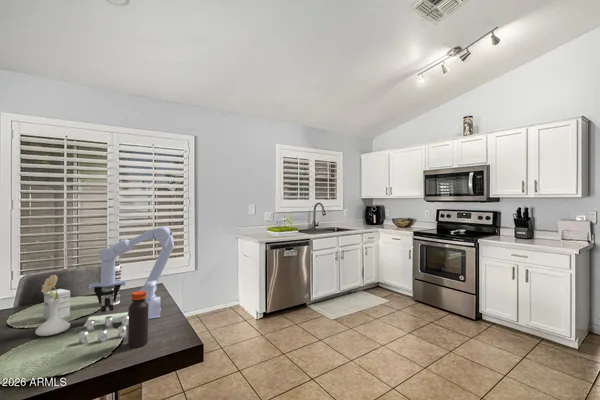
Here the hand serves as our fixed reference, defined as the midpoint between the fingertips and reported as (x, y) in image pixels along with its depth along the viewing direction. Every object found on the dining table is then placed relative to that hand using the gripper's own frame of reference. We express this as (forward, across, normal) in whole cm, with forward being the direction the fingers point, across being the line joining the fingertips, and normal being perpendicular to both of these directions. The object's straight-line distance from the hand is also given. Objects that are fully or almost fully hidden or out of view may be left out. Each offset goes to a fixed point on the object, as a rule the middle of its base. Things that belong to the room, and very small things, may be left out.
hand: (107, 302), depth 138 cm
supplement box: (+8, -22, +12) cm, 26 cm away
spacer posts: (+8, +2, -17) cm, 19 cm away
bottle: (+8, +15, -33) cm, 37 cm away
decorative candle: (+8, -2, +26) cm, 27 cm away
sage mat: (+8, 0, 0) cm, 8 cm away
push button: (+4, 0, -2) cm, 4 cm away
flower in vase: (+8, -18, -8) cm, 21 cm away
